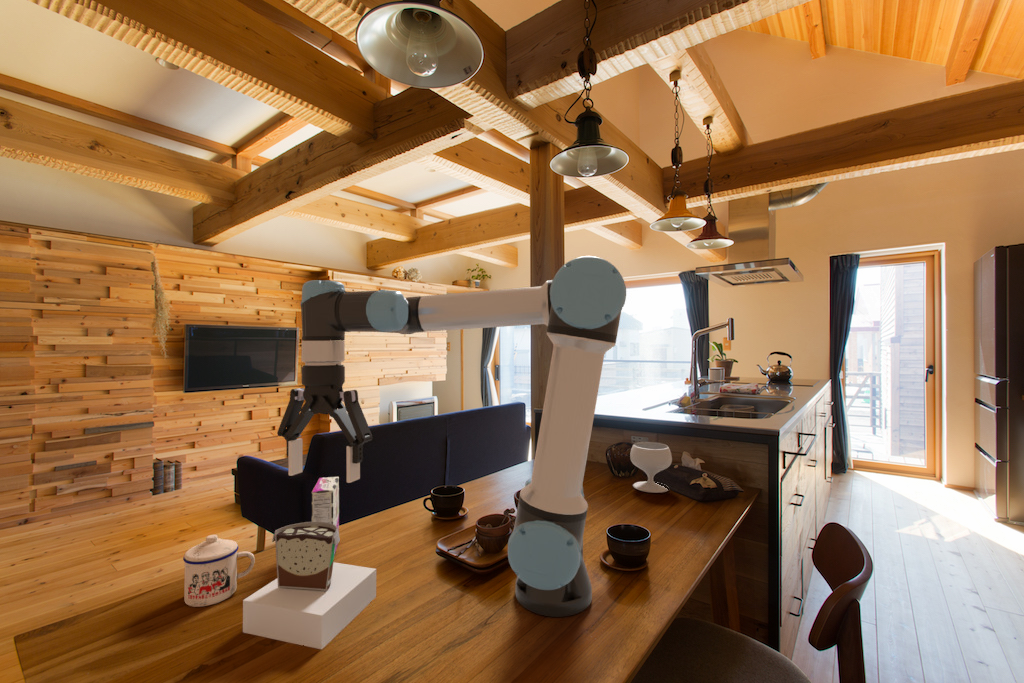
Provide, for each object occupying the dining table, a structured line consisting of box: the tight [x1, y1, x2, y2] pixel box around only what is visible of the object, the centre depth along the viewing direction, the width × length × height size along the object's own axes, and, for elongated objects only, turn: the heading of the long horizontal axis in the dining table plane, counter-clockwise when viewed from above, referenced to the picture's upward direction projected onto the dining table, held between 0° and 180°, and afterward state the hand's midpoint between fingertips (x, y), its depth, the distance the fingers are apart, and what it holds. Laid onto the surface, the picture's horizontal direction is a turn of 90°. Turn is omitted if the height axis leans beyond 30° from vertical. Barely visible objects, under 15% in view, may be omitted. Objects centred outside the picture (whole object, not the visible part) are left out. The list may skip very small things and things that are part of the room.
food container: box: [271, 521, 341, 591], centre depth 85 cm, size 12×6×10 cm, turn 83°
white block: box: [242, 561, 377, 650], centre depth 84 cm, size 16×16×6 cm
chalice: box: [629, 441, 673, 494], centre depth 159 cm, size 14×14×15 cm
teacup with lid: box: [182, 534, 256, 608], centre depth 90 cm, size 12×9×12 cm
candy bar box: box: [311, 476, 340, 557], centre depth 109 cm, size 11×5×16 cm, turn 14°
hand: (323, 477), depth 85 cm, fingers open, 13 cm apart
